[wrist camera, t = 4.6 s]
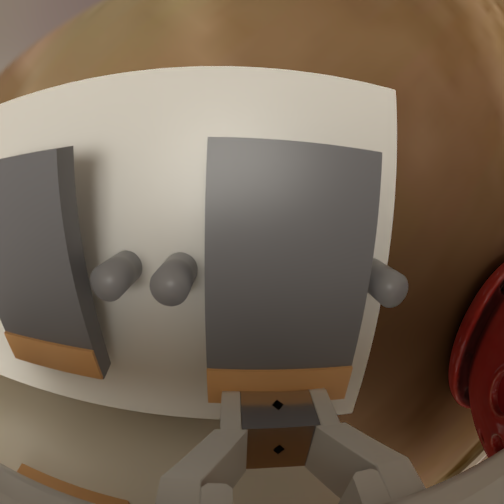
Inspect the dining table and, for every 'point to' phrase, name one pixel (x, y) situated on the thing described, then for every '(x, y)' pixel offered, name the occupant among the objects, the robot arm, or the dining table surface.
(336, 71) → the dining table surface
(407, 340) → the dining table surface
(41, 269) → the switch middle
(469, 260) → the dining table surface
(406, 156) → the dining table surface
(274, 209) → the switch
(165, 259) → the switch unit
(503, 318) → the plant pot
